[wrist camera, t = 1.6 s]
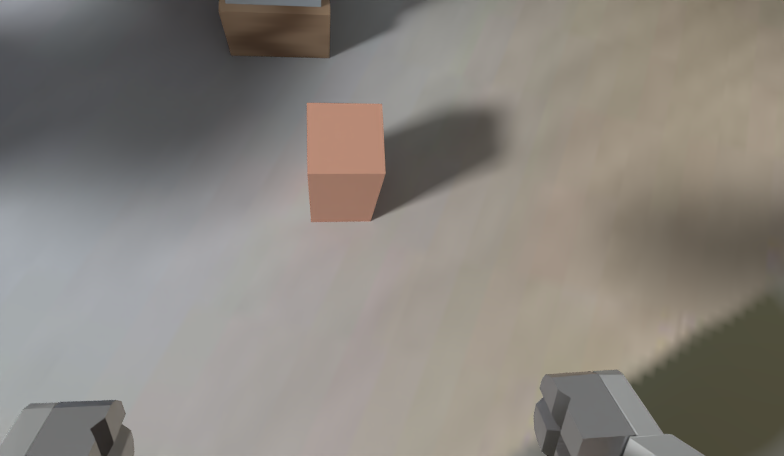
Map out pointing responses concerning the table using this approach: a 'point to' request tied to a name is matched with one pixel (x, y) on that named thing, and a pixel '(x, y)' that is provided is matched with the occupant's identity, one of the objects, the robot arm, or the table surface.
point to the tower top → (278, 2)
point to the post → (344, 160)
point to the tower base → (277, 30)
